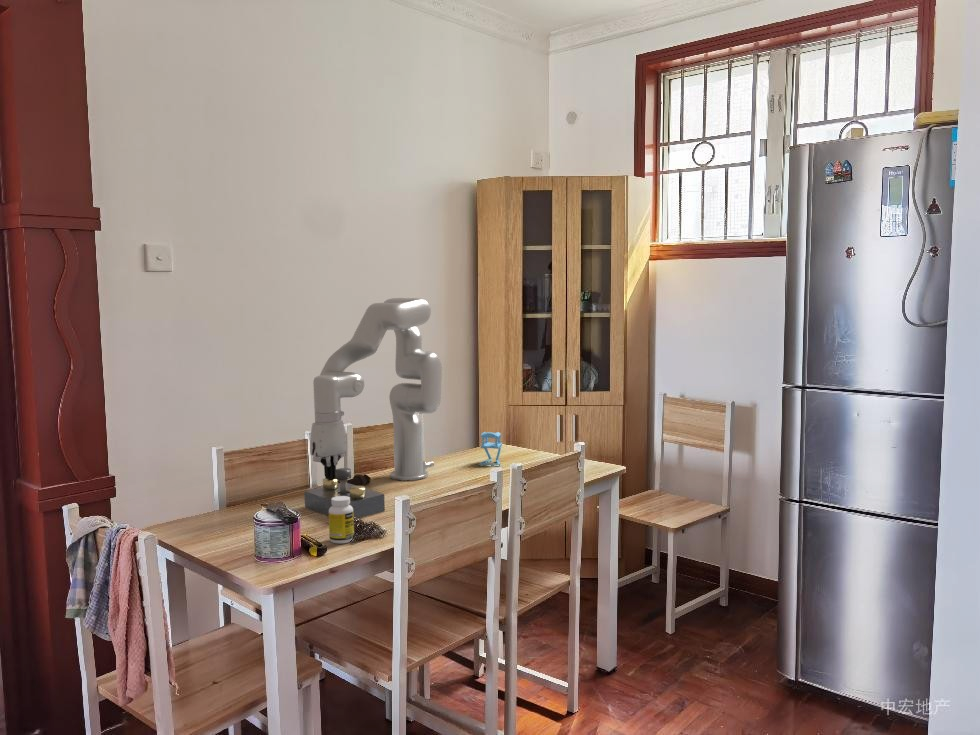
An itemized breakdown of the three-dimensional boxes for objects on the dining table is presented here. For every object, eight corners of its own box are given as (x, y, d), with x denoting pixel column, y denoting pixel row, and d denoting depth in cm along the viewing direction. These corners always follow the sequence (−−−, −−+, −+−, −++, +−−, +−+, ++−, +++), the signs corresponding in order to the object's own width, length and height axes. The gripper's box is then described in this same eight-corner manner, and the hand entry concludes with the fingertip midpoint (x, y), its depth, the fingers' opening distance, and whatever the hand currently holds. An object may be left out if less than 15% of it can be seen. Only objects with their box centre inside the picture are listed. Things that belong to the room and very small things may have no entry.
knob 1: (333, 501, 239) (332, 476, 238) (341, 503, 235) (340, 479, 235) (320, 504, 236) (319, 479, 235) (328, 507, 232) (327, 481, 232)
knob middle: (346, 492, 233) (345, 467, 232) (354, 495, 230) (353, 469, 229) (333, 495, 230) (332, 469, 229) (341, 498, 227) (340, 472, 226)
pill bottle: (349, 544, 199) (347, 501, 198) (325, 543, 200) (324, 501, 199) (357, 537, 205) (356, 495, 204) (334, 536, 207) (333, 494, 205)
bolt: (369, 490, 258) (340, 500, 245) (358, 481, 260) (328, 491, 247) (376, 476, 257) (347, 485, 243) (365, 467, 258) (336, 476, 245)
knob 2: (360, 510, 229) (359, 484, 228) (369, 513, 225) (368, 487, 225) (347, 513, 226) (346, 487, 225) (356, 516, 222) (355, 490, 222)
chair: (504, 461, 288) (504, 429, 287) (499, 466, 280) (499, 433, 279) (483, 460, 290) (483, 428, 289) (478, 465, 282) (478, 432, 281)
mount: (345, 498, 242) (344, 482, 242) (384, 511, 228) (384, 494, 228) (305, 507, 233) (304, 490, 232) (343, 521, 219) (342, 504, 218)
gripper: (342, 412, 241) (344, 472, 243) (298, 419, 230) (301, 481, 232) (356, 415, 235) (358, 476, 237) (312, 422, 225) (315, 485, 227)
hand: (330, 478), depth 235 cm, fingers closed
